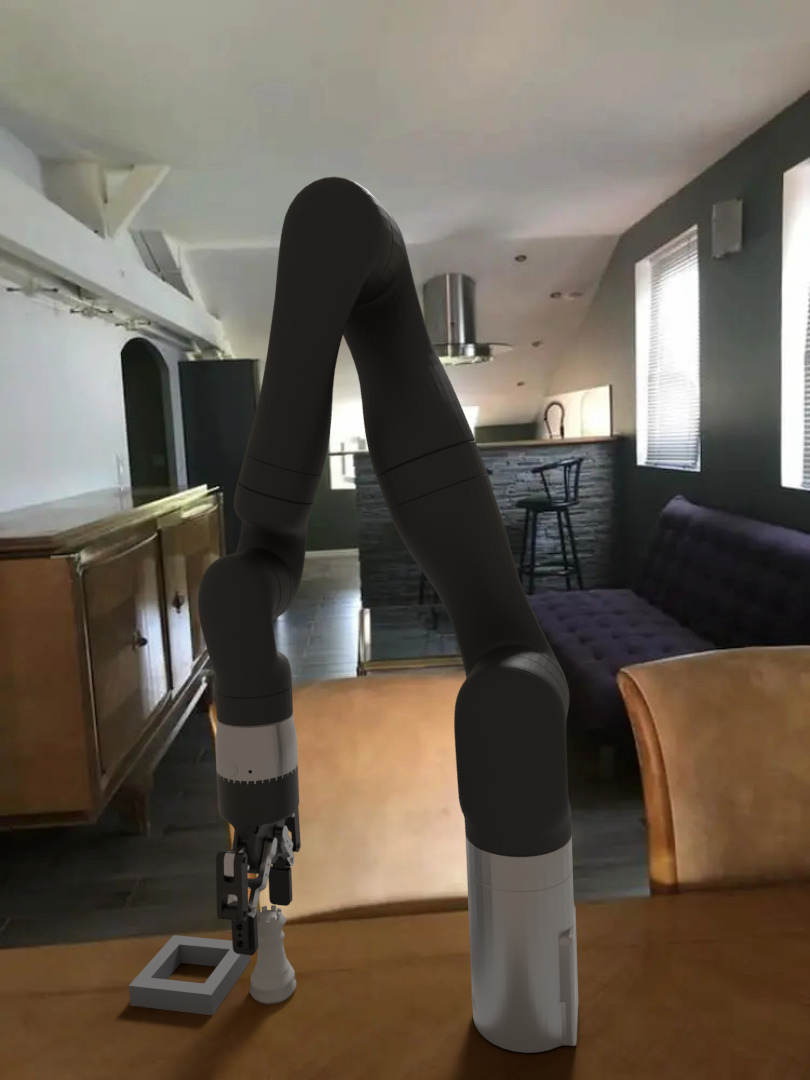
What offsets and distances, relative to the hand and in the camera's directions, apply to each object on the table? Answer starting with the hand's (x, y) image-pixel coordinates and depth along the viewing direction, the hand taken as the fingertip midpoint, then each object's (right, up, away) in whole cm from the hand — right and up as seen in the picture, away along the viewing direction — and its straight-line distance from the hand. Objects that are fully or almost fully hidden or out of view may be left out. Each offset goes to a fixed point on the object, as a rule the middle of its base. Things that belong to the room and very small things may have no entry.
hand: (264, 926), depth 80 cm
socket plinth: (-7, -7, +2) cm, 10 cm away
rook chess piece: (+1, -7, +1) cm, 7 cm away
